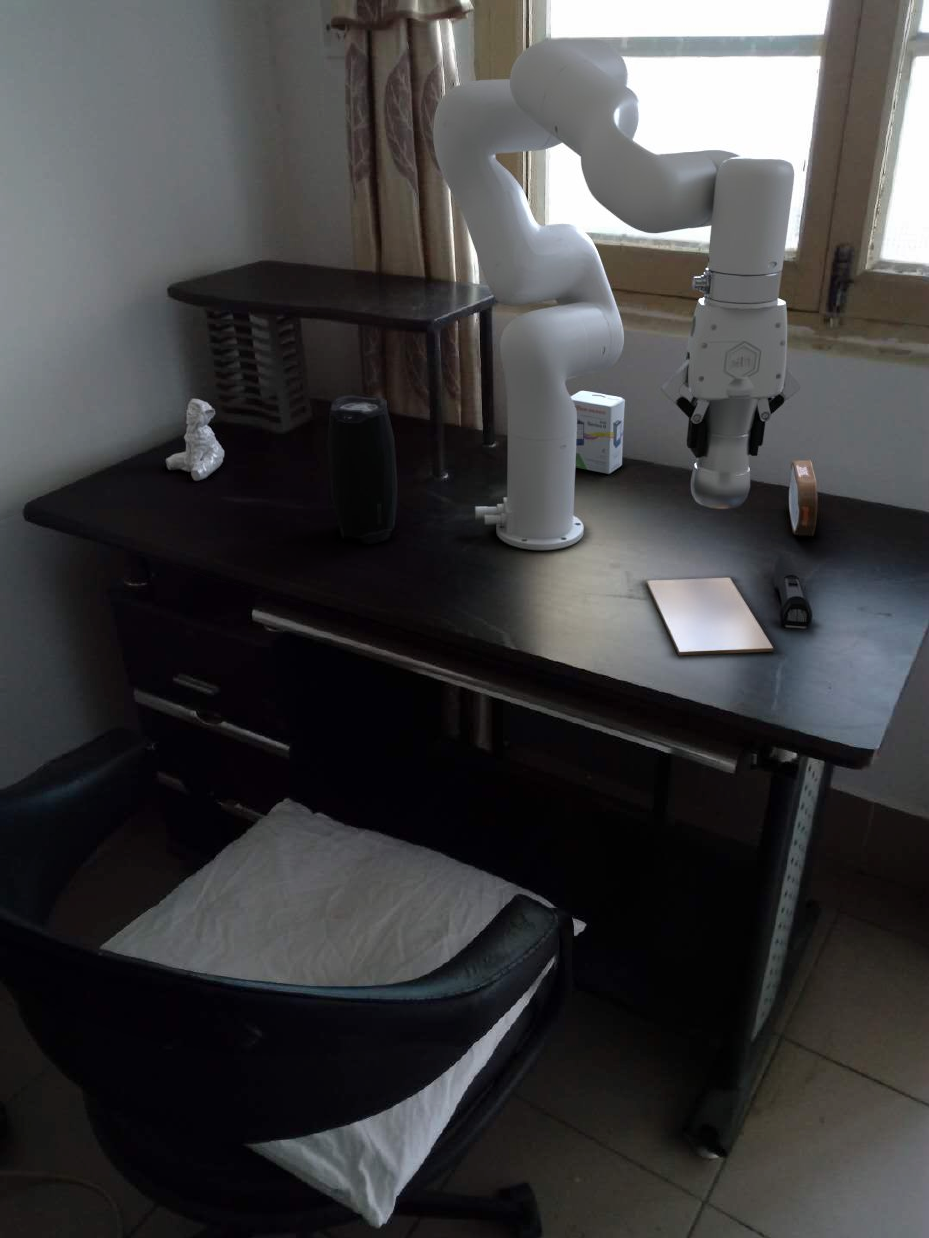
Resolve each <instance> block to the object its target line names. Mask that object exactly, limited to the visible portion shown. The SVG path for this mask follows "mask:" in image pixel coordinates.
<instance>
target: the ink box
mask: <svg viewBox="0 0 929 1238" xmlns="http://www.w3.org/2000/svg"><path fill="white" fill-rule="evenodd" d="M570 397H571V398H572V400H573V402H574V405H575V408H576V412H577V438H576V463H575V468H577V469H583V470H587V471H592V472H596V473H601V474H602V473H603V474H607V475H610V474H612V473H613V472H614V471H616V470H617V469H619V468H620V467H621V466H623V450H624V449H623V446H624V426H625V425H624V424H625V406H626V405H625V403H626V400H625V398H623V397H621V396H615V395H609V394H604V393H599V392H594V391H587V390H580V391H577V392H576V393H574V394H572V395H570Z"/></svg>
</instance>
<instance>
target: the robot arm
mask: <svg viewBox="0 0 929 1238" xmlns="http://www.w3.org/2000/svg"><path fill="white" fill-rule="evenodd" d="M625 62H626V61H625V60H624V58H623V56H622V55H621V53H620V52H619V50H617V49H616V47H614V46H613V45H611V44H610V43H609V42H606V41H603V40H599V39H598V40H597V39H552V40H550V39H549V40H544V41H539V42H536V43H534V44H532V45H530V46H529V47H527V48H525V49H524V50H523V51H522V52H520V54H519V55H518V57H516V59H515V61H514V63H513V65H512V68H511V70H510V74H509V78H501V79H500V78H499V79H498V78H497V79H496V78H495V79H479V80H472V81H468V82H464V83H461V84H459V85H458V84H457V85H455V86H454V87H452V88H451V89H449V90H448V91H446V93H445V94H443V96H442V97H441V99H440V100H439V101H438V104H437V105H436V106H437V107H436V109H435V113H434V118H433V126H432V128H433V129H432V136H433V137H432V138H433V139H432V140H433V148H434V153H435V157H436V162H437V165H438V167H439V170H440V173H441V175H442V177H443V179H444V181H445V183H446V185H447V187H448V188H449V191H450V192H451V194H452V196H453V198H454V199H455V201H456V203H457V205H458V207H459V209H460V212H461V214H462V216H463V218H464V219H463V220H464V221H465V224H466V227H467V230H468V234H469V236H470V239H471V242H472V244H473V247H474V250H475V253H476V256H477V260H478V261H479V264H480V267H481V270H482V273H483V276H484V279H485V281H486V283H487V286H488V288H489V290H490V293H491V294H492V296H493V298H494V299H495V300H496V301H497V302H498V303H500V304H501V305H504V306H508V307H518V306H525V305H532V304H537V303H542V302H549V301H554V300H555V301H556V303H557V305H554V306H549V307H544V308H539V309H535V310H530V311H527V312H525V313H522V314H520V315H517V316H516V317H514V318H513V319H512V320H511V321H510V322H509V323H508V324H507V325H506V326H505V327H504V329H503V331H502V334H501V338H500V341H499V350H500V351H499V353H500V360H501V366H502V370H503V375H504V376H503V377H504V382H505V392H506V409H507V416H506V417H507V418H506V420H507V422H506V423H507V424H506V425H507V427H506V429H507V463H506V464H507V469H506V471H507V473H506V476H507V477H506V479H507V480H506V484H507V485H506V487H507V488H506V491H507V493H506V496H505V497H503V502H502V503H497V504H496V506H487V505H486V506H480V505H479V506H475V507H474V519H475V520H476V521H480V520H481V521H483V520H484V525H485V526H491V525H492V526H493V525H496V528H495V531H496V536H497V537H498V539H500V541H503V542H504V543H505V544H507V545H509V546H512V547H515V548H519V549H523V550H528V551H529V550H530V551H553V550H560V549H563V548H567V547H570V546H572V545H574V544H576V543H578V542H579V541H580V540H581V539H582V537H583V536H584V532H585V531H584V530H585V529H584V526H585V525H584V523H583V521H581V519H580V518H579V517H577V516H576V515H574V507H575V489H576V488H575V483H576V482H575V481H576V467H575V463H576V438H577V412H576V408H575V405H574V402H573V400H572V398H571V397H570V396H571V394H570V393H569V392H568V391H569V390H568V388H567V386H566V382H567V381H568V380H572V379H574V378H577V377H578V378H579V377H581V376H585V375H586V376H587V375H589V374H590V375H591V374H595V373H597V372H598V373H599V372H601V371H604V370H607V369H608V368H610V367H612V366H613V365H615V363H617V362H618V360H619V358H621V355H622V353H623V349H624V346H625V344H624V343H625V332H624V325H623V322H622V318H621V315H620V311H619V308H618V306H617V302H616V300H615V299H616V298H615V296H614V293H613V291H612V288H611V285H610V282H609V280H608V277H607V274H606V270H605V268H604V265H603V262H602V259H601V256H600V254H599V251H598V249H597V247H596V245H595V243H594V242H593V240H592V238H591V237H590V236H589V234H587V232H585V231H584V230H583V229H581V228H580V227H578V226H576V225H574V224H569V223H553V224H546V225H541V224H539V223H538V222H537V221H536V218H535V217H534V215H533V213H532V210H531V208H530V205H529V204H530V203H529V201H528V198H527V196H526V193H525V191H524V189H523V187H522V185H520V183H519V182H518V180H517V179H516V177H514V175H513V174H512V173H511V172H510V171H509V170H508V169H507V168H505V166H504V165H502V164H501V163H500V162H499V161H498V160H497V154H498V155H499V154H512V153H524V152H536V151H544V150H548V149H551V148H554V147H556V146H558V145H561V144H563V145H565V146H566V147H567V148H569V149H570V150H571V151H573V152H574V153H575V154H576V155H578V156H579V157H580V166H581V172H582V175H583V178H584V181H585V183H586V186H587V188H588V191H589V192H590V194H591V196H592V197H593V198H594V199H595V200H596V202H598V203H599V204H600V205H601V206H602V207H603V208H604V209H606V210H607V211H608V212H610V213H611V214H612V215H614V216H615V217H616V218H617V219H619V220H620V221H621V222H623V223H624V224H626V225H628V226H629V227H631V228H632V229H635V230H637V231H639V232H642V233H646V234H660V233H661V234H663V233H668V232H675V231H681V230H687V229H696V228H697V229H698V228H705V227H710V236H709V243H708V244H709V246H708V253H707V255H708V256H707V266H706V267H705V269H704V272H703V275H699V276H693V277H692V280H691V289H692V291H699V292H702V294H703V295H704V297H700V298H698V300H697V303H696V307H695V309H694V312H693V317H692V320H691V324H690V329H689V333H688V338H687V344H686V349H685V356H684V361H683V363H682V364H681V365H680V366H679V367H678V369H677V370H676V371H675V372H674V373H673V374H672V375H671V376H670V377H669V378H668V379H667V380H666V381H665V382H664V383H663V384H662V386H661V391H662V393H663V394H664V395H665V397H667V398H668V400H670V401H671V402H672V403H673V404H675V405H676V406H677V407H678V408H679V410H681V412H682V413H683V414H685V416H687V418H688V424H687V425H688V426H687V434H686V446H687V448H688V449H690V451H691V452H692V454H693V455H694V457H695V458H696V459H697V458H701V457H703V454H704V444H705V435H706V424H705V422H704V421H703V420H704V414H705V412H706V410H707V408H708V405H709V400H722V399H726V398H729V397H728V395H727V386H728V385H729V383H731V382H732V381H733V380H734V378H733V377H735V378H740V377H739V375H743V376H741V377H744V378H745V377H746V376H748V379H749V380H750V381H751V382H752V383H753V385H754V388H753V393H752V394H751V395H750V397H752V398H754V399H759V400H758V404H757V408H756V412H755V416H754V421H753V427H752V429H751V431H752V432H751V438H750V454H749V456H751V457H757V456H758V454H759V447H762V446H763V444H764V437H765V430H766V429H765V428H766V422H769V420H770V419H771V416H772V415H773V414H774V413H775V412H776V411H777V410H778V409H779V408H780V407H782V406H783V405H784V403H785V401H787V400H789V399H790V398H791V397H793V396H794V395H795V394H796V393H797V392H799V391H800V389H801V384H800V383H799V381H798V380H797V379H796V377H795V376H794V374H793V373H792V372H791V371H790V370H789V368H788V367H787V353H788V352H787V351H788V311H787V302H786V301H785V300H783V299H781V298H779V295H780V288H781V281H782V275H783V267H784V260H785V259H784V258H785V251H786V244H787V237H788V236H787V235H788V229H789V220H790V215H791V214H790V213H791V205H792V197H793V190H794V181H795V168H794V166H793V164H792V163H791V162H790V161H789V160H788V159H786V158H783V157H777V156H768V155H767V156H766V155H747V156H746V155H743V154H739V153H737V152H734V151H729V150H726V149H720V148H719V149H717V148H711V149H700V150H699V149H698V150H681V151H673V152H665V153H655V152H652V151H650V150H648V149H646V148H645V147H643V146H642V145H641V144H639V143H637V141H635V137H636V135H637V133H638V130H639V128H640V122H641V118H642V117H641V115H642V111H641V110H642V109H641V103H640V100H639V98H638V96H637V95H636V93H635V92H634V91H633V90H632V89H631V88H629V86H628V85H629V77H628V76H629V74H628V68H627V64H626V63H625ZM683 385H684V386H685V387H686V388H688V391H689V393H690V394H691V396H690V399H688V398H687V397H686V396H685V395H684V394H683V393H682V392H681V391H680V390H681V387H682V386H683Z"/></svg>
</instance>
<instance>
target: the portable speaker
mask: <svg viewBox="0 0 929 1238" xmlns="http://www.w3.org/2000/svg"><path fill="white" fill-rule="evenodd" d="M388 405H389V404H388V402H387V400H386V399H384V398H383V397H377V398H373V397H363V396H358V395H353V394H349V395H342V396H340V397H337V398H335V399H333V401H332V403H331V407H330V409H329V421H328V434H327V454H328V455H327V456H328V467H329V468H328V469H329V480H330V491H331V493H330V494H331V498H332V503H333V507H334V511H335V514H336V518H337V519H336V520H337V522H338V527H339V530H340V535H341V538H342V539H348V537H349V538H350V537H351V538H355V539H360V540H361V542H362V543H363V544H366V545H373V544H378V543H382V542H384V541H386V540H388V539H389V538H390V536H391V533H392V531H393V529H394V528H395V526H396V525H395V524H396V514H397V506H398V476H397V475H398V474H397V460H396V459H397V457H396V445H395V436H394V433H393V432H394V431H393V428H392V424H391V419H390V415H389V406H388Z"/></svg>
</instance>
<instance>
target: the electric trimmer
mask: <svg viewBox="0 0 929 1238" xmlns="http://www.w3.org/2000/svg"><path fill="white" fill-rule="evenodd" d="M773 578H774V579H773V586H774V587H773V588H774V590H775V591H776V592H778V593H779V596H780V601H781V602H780V603H781V607H780V610H779V619H780V623H782V625H784V626H785V627H786V628H794V629H795V628H796V629H806V628H807V627H809V626H811V623H812V620H813V611H812V608H811V605H810V602H809V598H808V595H807V592H806V589H805V588H804V584H803V582H802V579H801V577H800V574H799V572H798V569H797V567H796V564H795V562H794V560H793V557H792V555H791V554H790V553H789V552H787V551H784V552H781V553H780V554H779V556H778V558H777V559H776V561H775V564H774V577H773ZM785 627H784V628H785Z"/></svg>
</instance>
